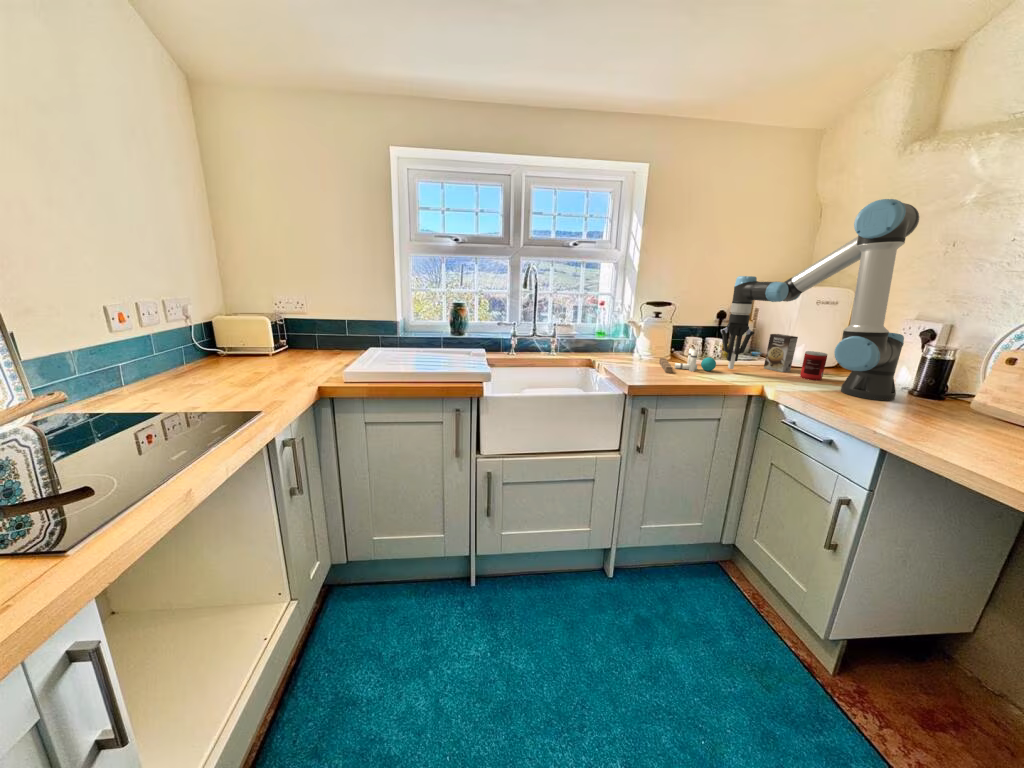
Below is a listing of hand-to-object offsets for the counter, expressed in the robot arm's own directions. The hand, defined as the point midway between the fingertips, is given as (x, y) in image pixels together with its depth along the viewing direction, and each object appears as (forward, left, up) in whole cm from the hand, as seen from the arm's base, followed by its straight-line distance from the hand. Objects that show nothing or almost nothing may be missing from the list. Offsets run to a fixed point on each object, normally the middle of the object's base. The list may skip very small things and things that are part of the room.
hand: (730, 368), depth 179 cm
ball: (0, +9, +1) cm, 9 cm away
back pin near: (-3, +16, -2) cm, 17 cm away
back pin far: (+3, +16, -2) cm, 17 cm away
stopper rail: (0, +27, -2) cm, 27 cm away
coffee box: (+15, -24, -2) cm, 28 cm away
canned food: (+1, -32, -2) cm, 32 cm away
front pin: (0, +14, -1) cm, 14 cm away
